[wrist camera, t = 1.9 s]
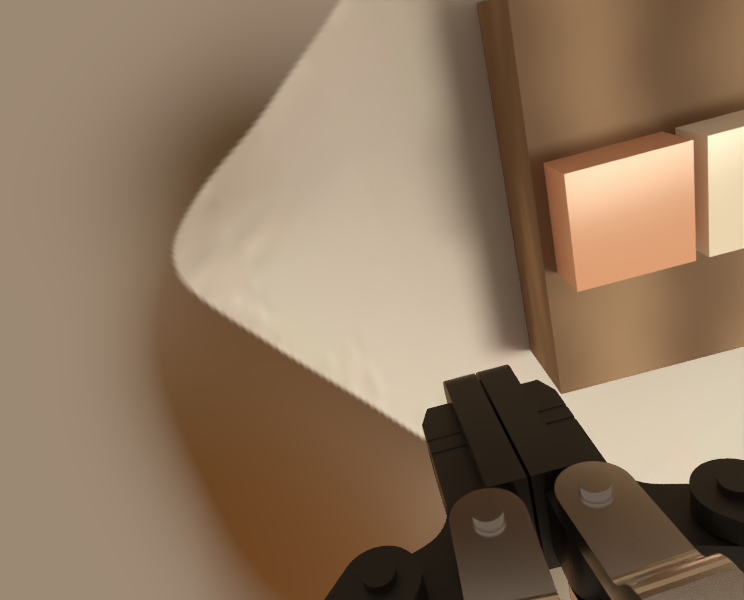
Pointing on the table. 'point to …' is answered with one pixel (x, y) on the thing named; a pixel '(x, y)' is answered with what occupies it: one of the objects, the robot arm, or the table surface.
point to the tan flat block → (599, 129)
